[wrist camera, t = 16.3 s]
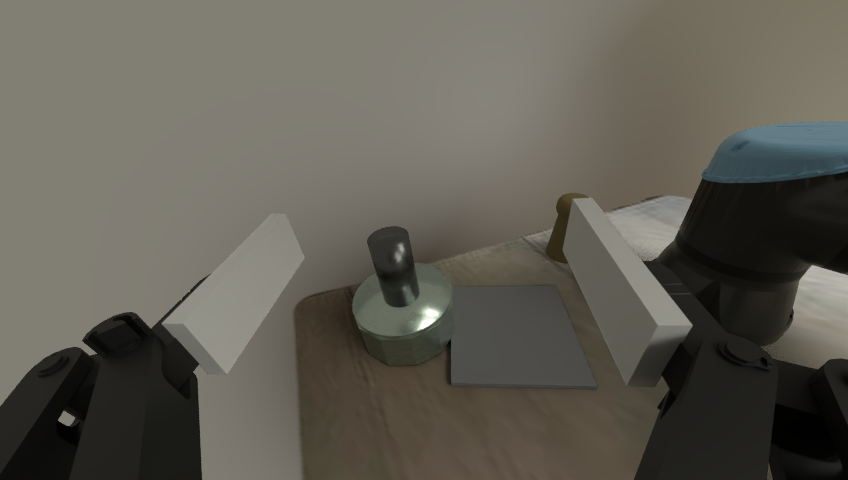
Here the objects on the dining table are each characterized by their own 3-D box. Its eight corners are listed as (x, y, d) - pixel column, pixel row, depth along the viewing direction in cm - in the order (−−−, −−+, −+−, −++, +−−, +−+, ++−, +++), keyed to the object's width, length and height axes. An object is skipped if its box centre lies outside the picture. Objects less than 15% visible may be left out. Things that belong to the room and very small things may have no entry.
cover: (454, 288, 47) (445, 205, 39) (455, 364, 36) (443, 271, 28) (374, 292, 49) (349, 214, 41) (352, 365, 38) (312, 278, 30)
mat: (555, 288, 46) (555, 285, 46) (596, 389, 33) (597, 386, 33) (451, 289, 48) (451, 286, 48) (451, 385, 35) (451, 382, 34)
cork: (580, 244, 55) (594, 189, 49) (585, 265, 50) (601, 206, 44) (545, 241, 56) (554, 187, 50) (546, 261, 52) (557, 204, 45)
